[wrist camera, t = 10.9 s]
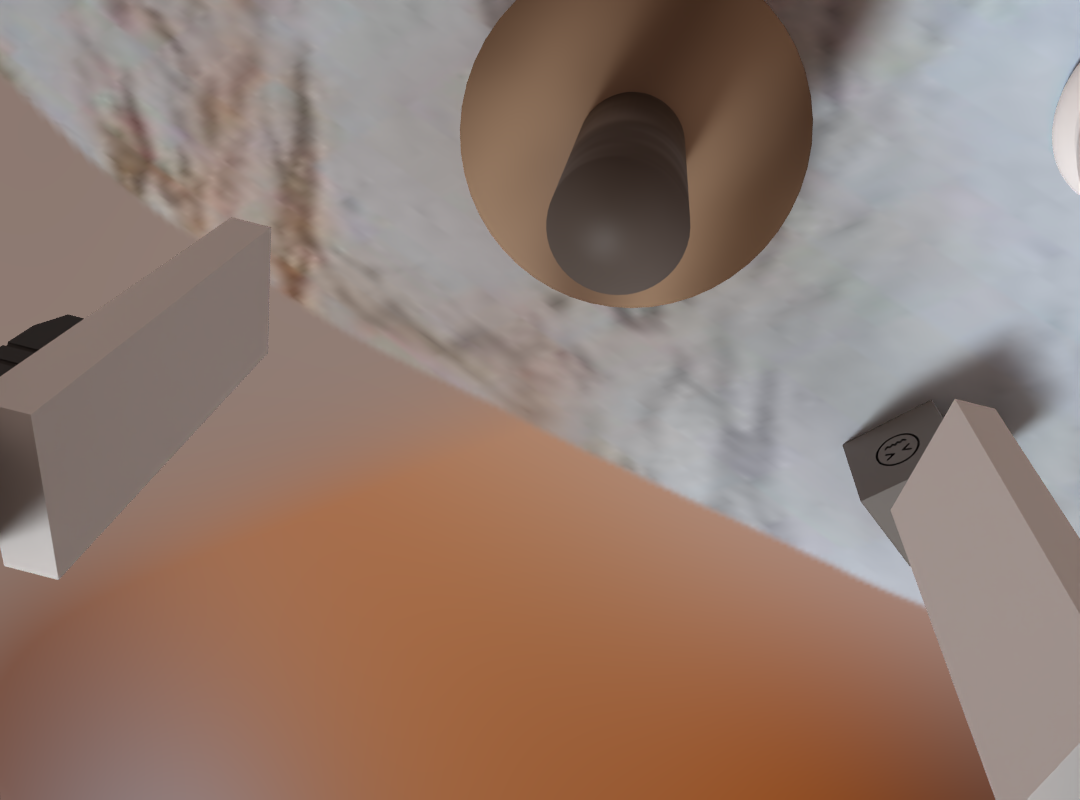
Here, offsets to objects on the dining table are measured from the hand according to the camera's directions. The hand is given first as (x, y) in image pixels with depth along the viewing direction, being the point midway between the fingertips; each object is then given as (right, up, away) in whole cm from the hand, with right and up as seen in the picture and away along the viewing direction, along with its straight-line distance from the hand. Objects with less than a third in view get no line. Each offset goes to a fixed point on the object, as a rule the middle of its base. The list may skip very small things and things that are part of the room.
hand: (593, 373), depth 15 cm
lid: (+3, +10, +16) cm, 18 cm away
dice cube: (+19, -3, +28) cm, 34 cm away
